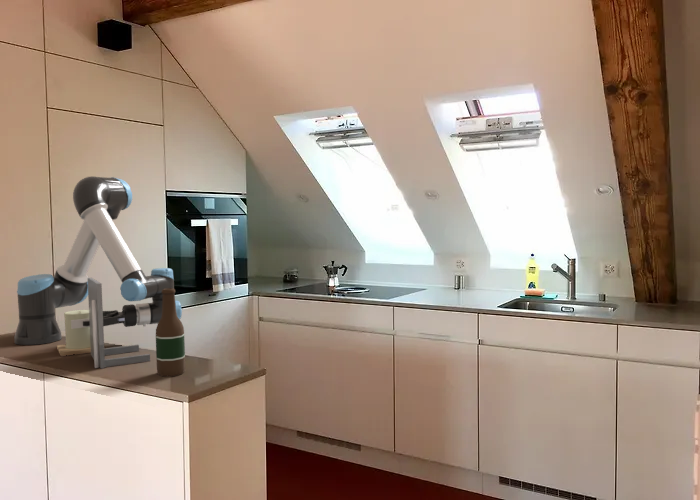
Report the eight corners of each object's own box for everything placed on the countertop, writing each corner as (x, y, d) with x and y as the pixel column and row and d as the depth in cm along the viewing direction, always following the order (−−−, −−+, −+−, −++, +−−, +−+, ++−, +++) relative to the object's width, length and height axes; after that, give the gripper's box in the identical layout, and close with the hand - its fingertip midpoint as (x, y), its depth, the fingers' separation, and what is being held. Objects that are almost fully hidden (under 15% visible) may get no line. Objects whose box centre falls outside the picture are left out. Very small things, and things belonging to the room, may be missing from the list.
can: (66, 350, 201) (64, 313, 200) (64, 345, 209) (63, 309, 209) (96, 347, 205) (95, 311, 205) (94, 342, 214) (92, 307, 213)
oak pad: (57, 348, 210) (57, 345, 210) (98, 343, 216) (98, 340, 216) (61, 356, 199) (60, 352, 198) (104, 350, 205) (104, 347, 205)
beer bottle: (158, 378, 170) (155, 291, 168) (155, 371, 177) (152, 288, 176) (187, 374, 173) (184, 289, 171) (183, 368, 180) (180, 286, 179)
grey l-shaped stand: (86, 356, 198) (82, 278, 197) (137, 349, 206) (134, 274, 204) (95, 369, 181) (91, 284, 179) (151, 361, 189) (148, 280, 187)
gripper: (143, 331, 205) (73, 339, 195) (129, 320, 227) (65, 326, 216) (142, 308, 205) (72, 315, 194) (128, 300, 226) (64, 305, 216)
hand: (68, 321), depth 205 cm, fingers open, 13 cm apart
